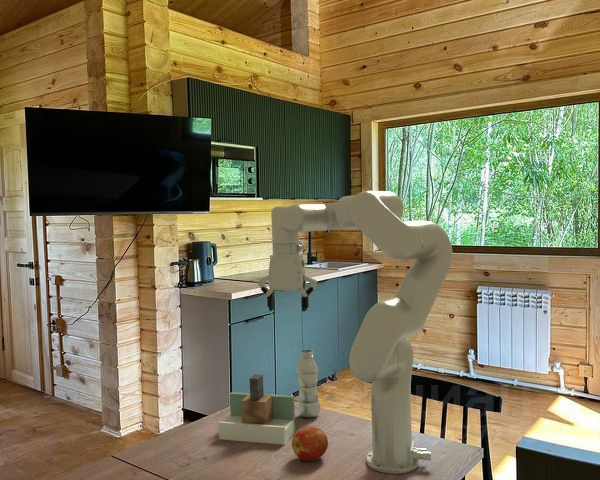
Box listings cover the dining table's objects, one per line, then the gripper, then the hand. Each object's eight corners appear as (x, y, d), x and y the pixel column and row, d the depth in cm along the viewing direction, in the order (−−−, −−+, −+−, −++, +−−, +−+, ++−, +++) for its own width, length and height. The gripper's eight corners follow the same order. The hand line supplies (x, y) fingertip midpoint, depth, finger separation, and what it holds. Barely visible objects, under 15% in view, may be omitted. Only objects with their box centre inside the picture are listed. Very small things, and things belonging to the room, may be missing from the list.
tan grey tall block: (273, 419, 154) (271, 374, 153) (266, 427, 148) (264, 380, 148) (250, 417, 156) (248, 373, 155) (242, 425, 150) (240, 379, 149)
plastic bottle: (318, 420, 161) (316, 353, 160) (296, 419, 163) (293, 353, 162) (321, 412, 168) (319, 348, 167) (300, 411, 169) (298, 348, 168)
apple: (288, 456, 138) (287, 425, 137) (317, 449, 141) (316, 419, 141) (303, 469, 130) (302, 436, 130) (333, 461, 134) (332, 429, 134)
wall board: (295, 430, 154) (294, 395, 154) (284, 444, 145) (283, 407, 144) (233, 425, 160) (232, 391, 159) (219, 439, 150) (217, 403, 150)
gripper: (319, 248, 154) (321, 308, 155) (261, 249, 159) (263, 307, 160) (312, 250, 147) (314, 313, 148) (252, 251, 152) (254, 312, 152)
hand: (288, 310), depth 154 cm, fingers open, 9 cm apart
